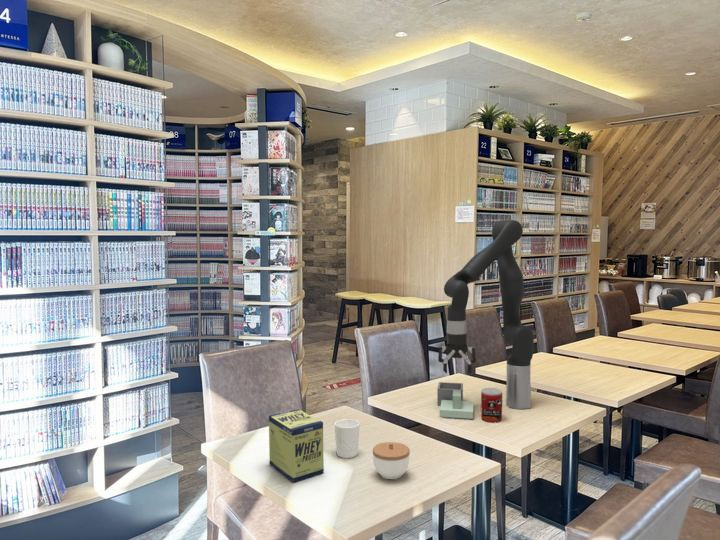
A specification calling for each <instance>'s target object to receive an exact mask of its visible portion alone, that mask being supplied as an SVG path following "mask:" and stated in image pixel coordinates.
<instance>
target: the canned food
mask: <svg viewBox="0 0 720 540" xmlns="http://www.w3.org/2000/svg"><path fill="white" fill-rule="evenodd" d="M480 393H481V394H480V397H481V398H480V401H481V402H480V408H481V409H480V410H481V411H480V417H481V420H482V421H484V422H486V423H490V422H491V423H495V422H496V423H499V422H501V421H502V419H503V391H502V390H501V389H500V388H497V387H486V388H485V387H484V388H482V389H481V392H480Z"/></svg>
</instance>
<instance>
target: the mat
mask: <svg viewBox="0 0 720 540" xmlns="http://www.w3.org/2000/svg"><path fill="white" fill-rule="evenodd" d="M452 418H453V417H442V418H441V419H452ZM467 419H468V421H473V419H469V418H454V420H467Z"/></svg>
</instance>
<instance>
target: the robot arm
mask: <svg viewBox="0 0 720 540" xmlns="http://www.w3.org/2000/svg"><path fill="white" fill-rule="evenodd" d="M522 225H523V224H521V223H520V222H519V221H518V220H516V219H515V220H514V219H504V220H503V219H502V220H501V219H500V220H497V221H496V222H494V223H493V226H492V228H491V237H492V241H491V243H489V245H487V246H485V247H484V248H483V249H481V250H480V251H479V252H477V253H476V254H475V255H474V256H472V257H471V258H470V259H469V261H468V262H467V263H466V264H465V265H464V266H463V267H462V268H461V269H460V270H459V271H457V272H455V274H454V275H452V276H451V277H449V278H448V279H447V281H446V282H445V283H444V286H443V291H444V294H445V295H446V296H447V297H449V298H451V304H450V305H447V309H446V310H447V311H446V312H447V313H446V316H447V318H446V319H447V322H446V346H442V345H439V347H438V361H437V362H438V363H442V369H443V372H444V373H445V374H448V361H449V360H450V359H451V358H452V359H464V360H465V362H466V363H467V375H470V373H472V364H475V363H477V355H476V347H475V346H468V337H467V336H468V333H467V332H468V331H467V330H468V329H467V313H466V312H467V311H466V309H467V306H468V302H469V297H470V291H469V286H468V285H469V284H471V283H475V282H476V281H477V280H478V279H479V278H480V277H481V276H482V275H483V274H484V273H485V271H487V269H488V268H489V267H490V266H491V265H492V264H493V263H494V262H495V261H496V262H497V270H498V271H497V272H498V281H499V288H500V289H499V290H500V296H501V297H500V298H501V306H502V324H503V326H502V333H503V339H504V340H505V342H506V343H507V344H508V345H510V346H512V348H511V354H509V355H507V356H506V385H505V386H506V393H505V394H506V398H505V399H506V400H505V401H506V402H505V403H506V404H505V405H506V406H507V407H509V408H511V409H517V410H526V409H532V408H531V407H532V406H531V405H532V404H531V403H532V402H531V401H532V398H531V397H532V394H531V393H532V384H531V364H532V363H531V362H532V359H533V355H534V344H535V343H534V341H535V339H534V332H533V330H532V329H531V327H529V326H528V325H525V324H522V321H521V320H522V319H521V305H522V301H523V299H524V296H525V284H524V282H525V281H524V276H523V272H522V270H521V268H520V266H519V264H518V262H517V260H516V258H515V255H514V252H513V245H514V244H516V243H517V242H518V241H519V240H521V238H522V235H523V232H524V229H523V226H522ZM445 351H446V352H447V355H446V356H445V358H443V353H444V352H445ZM468 351H469V352H470V353H471V354H472V357H471V358H472V359H470V358H469V356H468V355H467V352H468Z"/></svg>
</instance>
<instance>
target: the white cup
mask: <svg viewBox="0 0 720 540" xmlns="http://www.w3.org/2000/svg"><path fill="white" fill-rule="evenodd" d="M334 437H335V439H334V440H335V447H336V449H335V450H336V455H337V456H338V457H339V458H343V459H352V458H354V457H357V456H358V455H359V454H358V453H359V443H360V442H359V441H360V439H359V438H360V421H358V420H357V419H351V418H345V419H339V420H337V421H335V422H334Z"/></svg>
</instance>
